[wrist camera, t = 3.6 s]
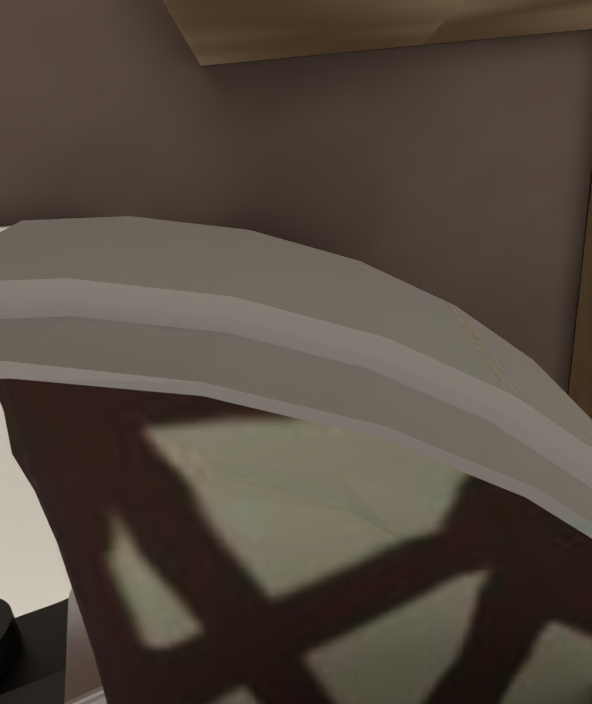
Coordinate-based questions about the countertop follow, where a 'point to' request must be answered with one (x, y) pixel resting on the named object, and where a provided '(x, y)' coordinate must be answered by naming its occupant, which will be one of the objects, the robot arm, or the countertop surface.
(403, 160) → the countertop surface
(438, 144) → the countertop surface
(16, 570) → the tray
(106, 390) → the food container
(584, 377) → the holder
